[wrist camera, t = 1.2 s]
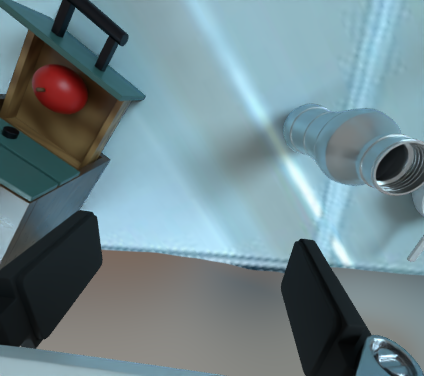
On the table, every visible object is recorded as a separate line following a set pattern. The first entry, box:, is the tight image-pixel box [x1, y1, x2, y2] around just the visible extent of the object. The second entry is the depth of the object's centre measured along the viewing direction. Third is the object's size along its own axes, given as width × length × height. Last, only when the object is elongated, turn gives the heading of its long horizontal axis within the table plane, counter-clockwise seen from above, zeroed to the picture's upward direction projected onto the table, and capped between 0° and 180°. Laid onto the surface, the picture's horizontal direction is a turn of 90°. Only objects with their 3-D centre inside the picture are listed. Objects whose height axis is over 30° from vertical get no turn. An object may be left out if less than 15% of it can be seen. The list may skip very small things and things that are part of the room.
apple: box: [32, 64, 88, 114], centre depth 27 cm, size 6×6×7 cm
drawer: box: [0, 0, 146, 170], centre depth 28 cm, size 21×15×8 cm
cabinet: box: [0, 94, 110, 270], centre depth 29 cm, size 18×16×16 cm
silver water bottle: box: [283, 104, 424, 196], centre depth 22 cm, size 6×7×20 cm
